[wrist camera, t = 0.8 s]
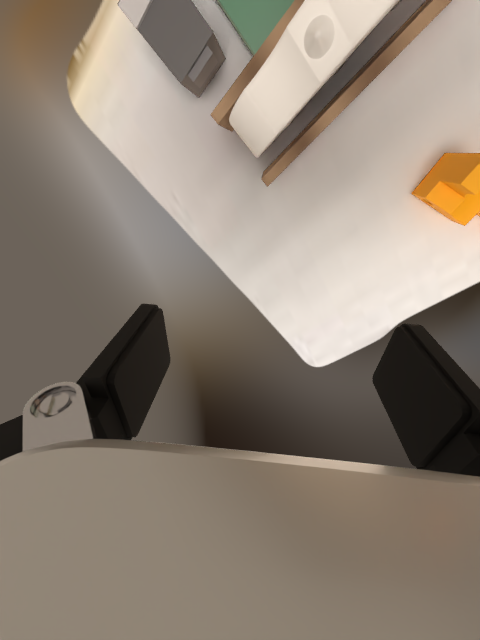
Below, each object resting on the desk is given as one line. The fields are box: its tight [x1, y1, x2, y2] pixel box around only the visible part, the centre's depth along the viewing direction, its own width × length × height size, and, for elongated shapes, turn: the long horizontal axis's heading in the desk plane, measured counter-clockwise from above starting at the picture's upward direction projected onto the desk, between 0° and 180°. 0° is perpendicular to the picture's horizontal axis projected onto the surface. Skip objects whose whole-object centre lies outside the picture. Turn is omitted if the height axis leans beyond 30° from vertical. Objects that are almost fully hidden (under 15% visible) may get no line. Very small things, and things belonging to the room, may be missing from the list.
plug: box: [118, 0, 226, 97], centre depth 21 cm, size 4×7×7 cm, turn 44°
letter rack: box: [211, 0, 452, 187], centre depth 19 cm, size 21×7×9 cm, turn 134°
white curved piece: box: [229, 0, 401, 157], centre depth 17 cm, size 3×18×15 cm, turn 134°
